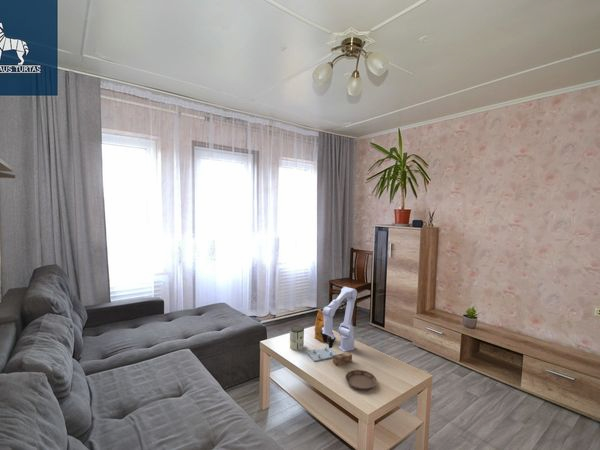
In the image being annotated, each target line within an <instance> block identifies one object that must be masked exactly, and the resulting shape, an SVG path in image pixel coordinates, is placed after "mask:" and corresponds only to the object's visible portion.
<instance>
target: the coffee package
mask: <svg viewBox="0 0 600 450" xmlns="http://www.w3.org/2000/svg"><path fill="white" fill-rule="evenodd" d="M322 311H323V310H321V309H318V311H317V315H316V319H315V323H314V324H315V326H314V339H317V340H318V341H319V342H322V343H324V342H323V338H322V335H321V332H322V328H323V327H324V317H323V314H322ZM328 337H330V336H328ZM328 337H327V338H328ZM327 342H328V340H327Z"/></svg>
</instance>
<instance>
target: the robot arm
mask: <svg viewBox="0 0 600 450" xmlns="http://www.w3.org/2000/svg"><path fill="white" fill-rule="evenodd" d="M357 296H358V291H357V289H356V288H352V287H347V286H345V285H344V286H343V287H342V288H341V290H340V294H339V295H337V297H336V299H332V301H330V303H329V304H328V305H326V306H324V307H323V309H322V310H321V311H322V314H323V317H324V327H323V328H322V332H321V335H322V338H323V342H322V343H323V344H325V343H327V344H328V348H331V349H333V346H334V342H335V341H336V339H337V338H336V336H335V334H334V332H333V325H334V324H333V320H334V318H333V317H334V316H335V313H336V311H337V309H338V308H339V307H340V305H341V302H343V301H344V300H345V299H346V300H347V302H346V306H345V312H344V313H345V314H344V318H343V322H341V323H340V325H339V327H338V331H337V333H338V334H339V336H340V345H338V346H337V347H338V349H340V350H341V351H342V352H343V353H346V352H349V351H350V352H351V351H354V350H356V349H355V337H354V334H355V333H354V332H355V331H354V328H355V327H354V325H353V324H352V318H353V314H354V313H353V312H354V307H355V303H356V300H357ZM328 336H330V337H328ZM327 337H328V338H327ZM327 340H328V341H327Z"/></svg>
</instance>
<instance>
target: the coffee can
mask: <svg viewBox="0 0 600 450" xmlns="http://www.w3.org/2000/svg"><path fill="white" fill-rule="evenodd" d="M304 335H305V327H304V326H302V325H300V324H299V325H296V324H295V325H291V326H290V327H289V349H290V350H292V351H300V350H301V351H302V350H303V349H304V348H305V347H304V346H305V344H304V343H305V342H304V341H305V340H304V337H305V336H304Z"/></svg>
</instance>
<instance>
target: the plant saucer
mask: <svg viewBox="0 0 600 450" xmlns="http://www.w3.org/2000/svg"><path fill="white" fill-rule="evenodd" d="M345 381H346V383H347V384H348V385H349V386H350V387H351V388H353V389H354V390H357V391H364V392H365V391H370V390H372V389H373V388H374V387H375V386H376V385H377V383H378V381H377V377H376V376H375V375H374V374H373V373H371V372H369V371H367V370H363V369H362V370H361V369H353V370H350V371H347V373H346V374H345Z"/></svg>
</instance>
